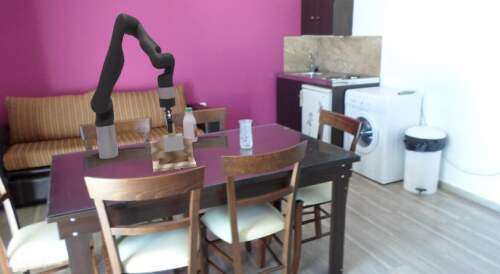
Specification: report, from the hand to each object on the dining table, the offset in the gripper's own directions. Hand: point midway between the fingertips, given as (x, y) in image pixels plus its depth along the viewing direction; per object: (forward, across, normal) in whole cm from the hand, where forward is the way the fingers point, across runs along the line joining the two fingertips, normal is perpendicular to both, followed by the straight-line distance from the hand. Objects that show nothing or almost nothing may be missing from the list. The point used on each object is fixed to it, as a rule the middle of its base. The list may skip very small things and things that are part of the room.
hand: (170, 132), depth 186 cm
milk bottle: (+16, -38, +13) cm, 43 cm away
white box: (+9, 0, +1) cm, 9 cm away
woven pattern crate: (+16, +2, 0) cm, 16 cm away
